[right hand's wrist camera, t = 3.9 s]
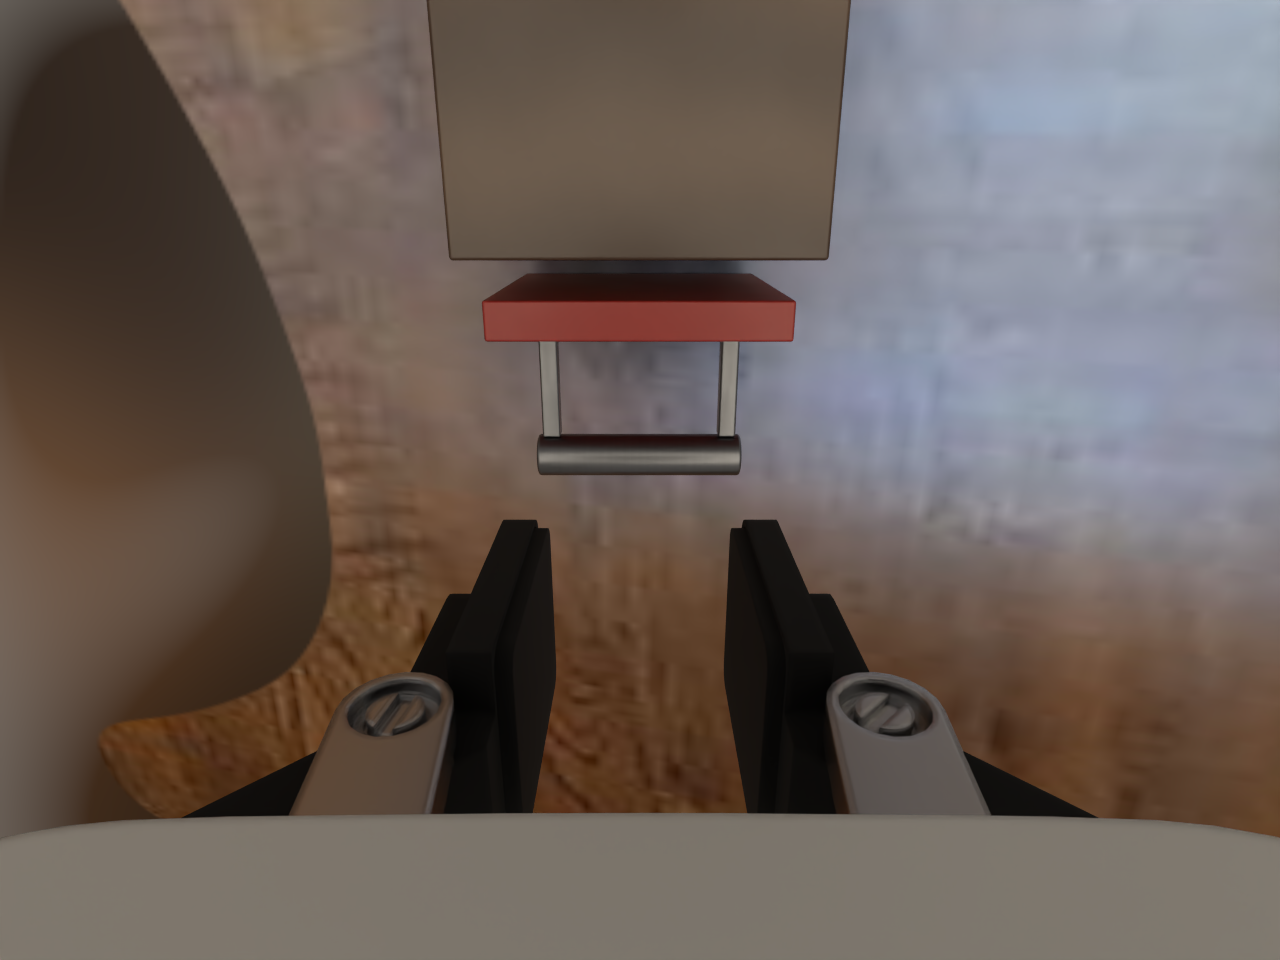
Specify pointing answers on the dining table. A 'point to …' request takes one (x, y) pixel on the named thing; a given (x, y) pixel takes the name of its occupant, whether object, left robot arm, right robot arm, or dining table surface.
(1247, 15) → the dining table surface
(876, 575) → the dining table surface
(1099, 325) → the dining table surface
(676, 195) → the cabinet
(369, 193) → the dining table surface
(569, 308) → the drawer
